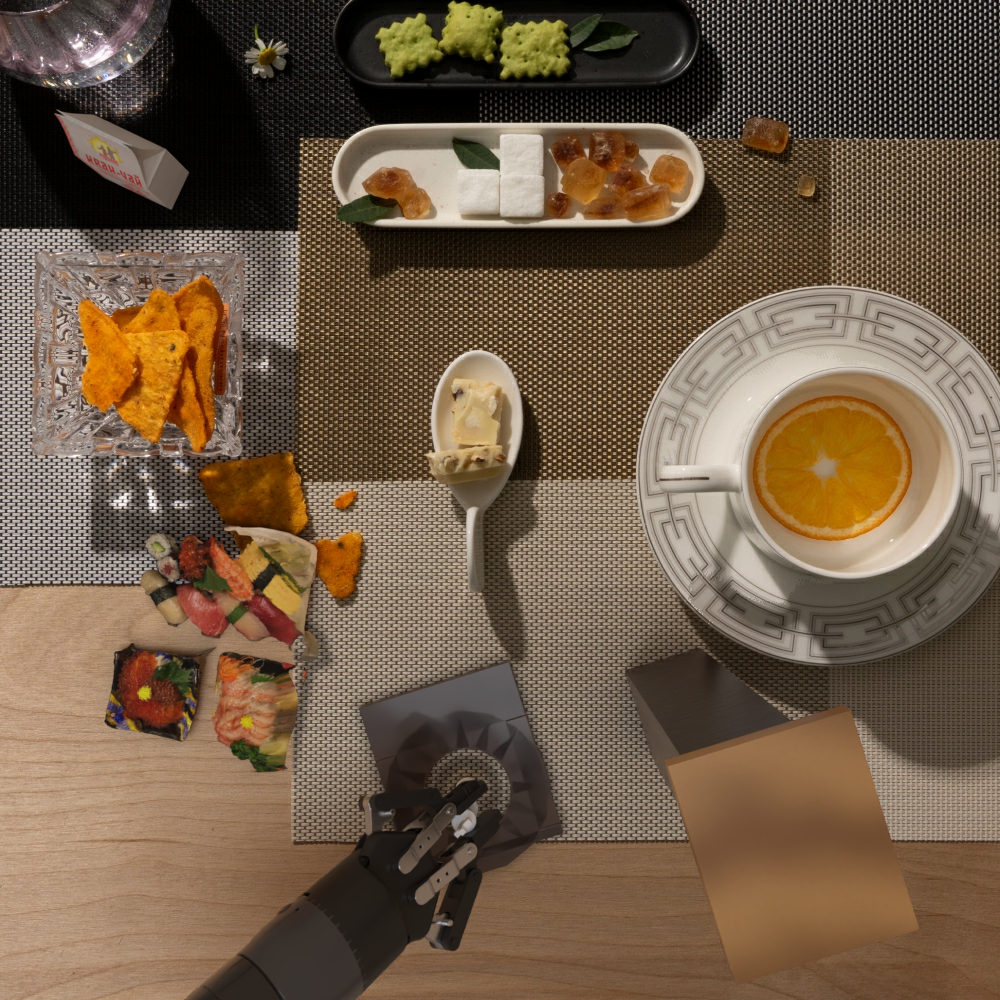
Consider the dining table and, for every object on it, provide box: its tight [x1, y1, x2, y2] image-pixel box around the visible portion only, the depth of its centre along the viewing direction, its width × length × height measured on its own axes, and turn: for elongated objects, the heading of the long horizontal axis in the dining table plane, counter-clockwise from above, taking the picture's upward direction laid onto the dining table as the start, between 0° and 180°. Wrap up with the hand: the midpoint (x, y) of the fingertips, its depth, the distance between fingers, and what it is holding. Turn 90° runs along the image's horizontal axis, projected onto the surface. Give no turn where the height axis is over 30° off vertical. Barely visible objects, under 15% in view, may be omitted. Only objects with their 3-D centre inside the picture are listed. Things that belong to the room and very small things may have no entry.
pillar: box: [624, 647, 792, 803], centre depth 56 cm, size 8×7×29 cm
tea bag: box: [53, 108, 190, 210], centre depth 66 cm, size 4×7×10 cm, turn 64°
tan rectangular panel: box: [664, 704, 920, 986], centre depth 41 cm, size 12×10×1 cm
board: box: [358, 659, 564, 874], centre depth 70 cm, size 17×14×2 cm
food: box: [103, 524, 319, 773], centre depth 69 cm, size 22×19×4 cm
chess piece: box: [450, 776, 479, 838], centre depth 66 cm, size 5×5×10 cm
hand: (487, 798), depth 65 cm, fingers closed on chess piece
